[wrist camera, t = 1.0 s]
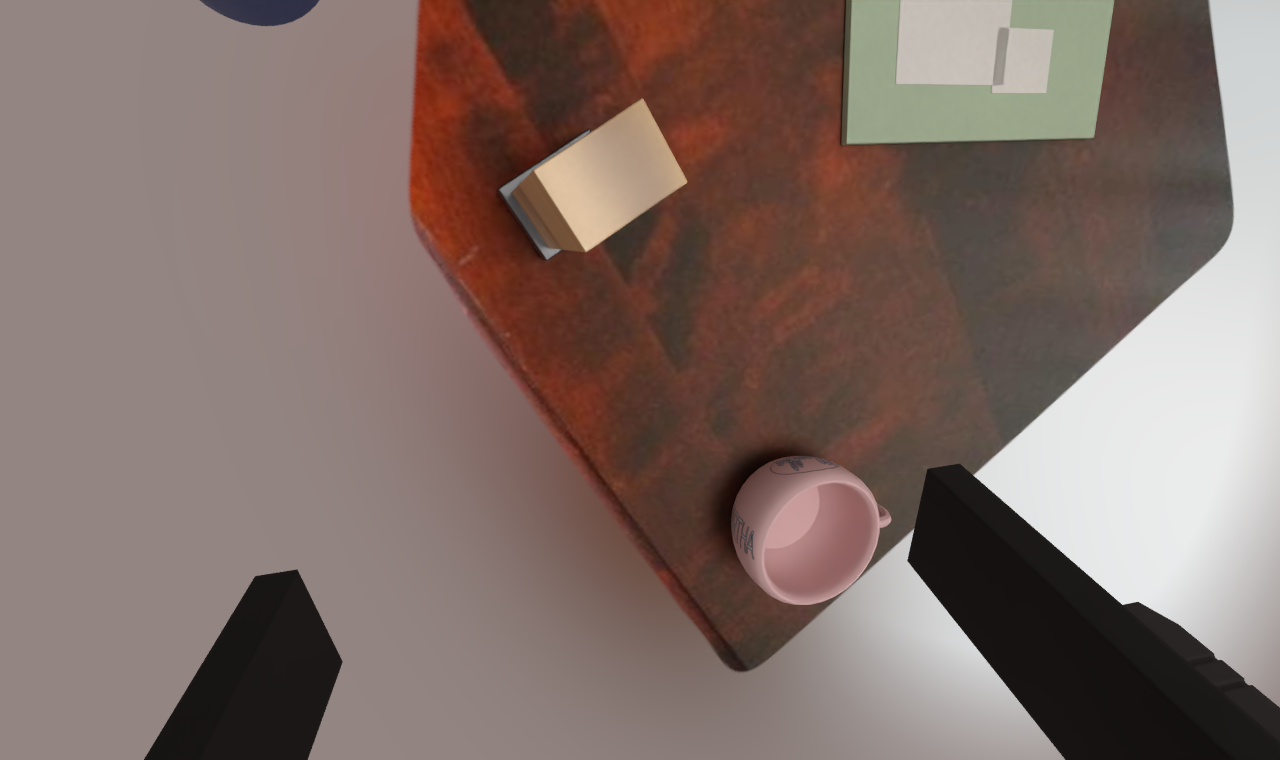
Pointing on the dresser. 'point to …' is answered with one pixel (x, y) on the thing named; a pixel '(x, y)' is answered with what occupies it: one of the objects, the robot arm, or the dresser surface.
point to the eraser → (594, 184)
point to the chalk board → (972, 70)
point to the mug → (805, 528)
